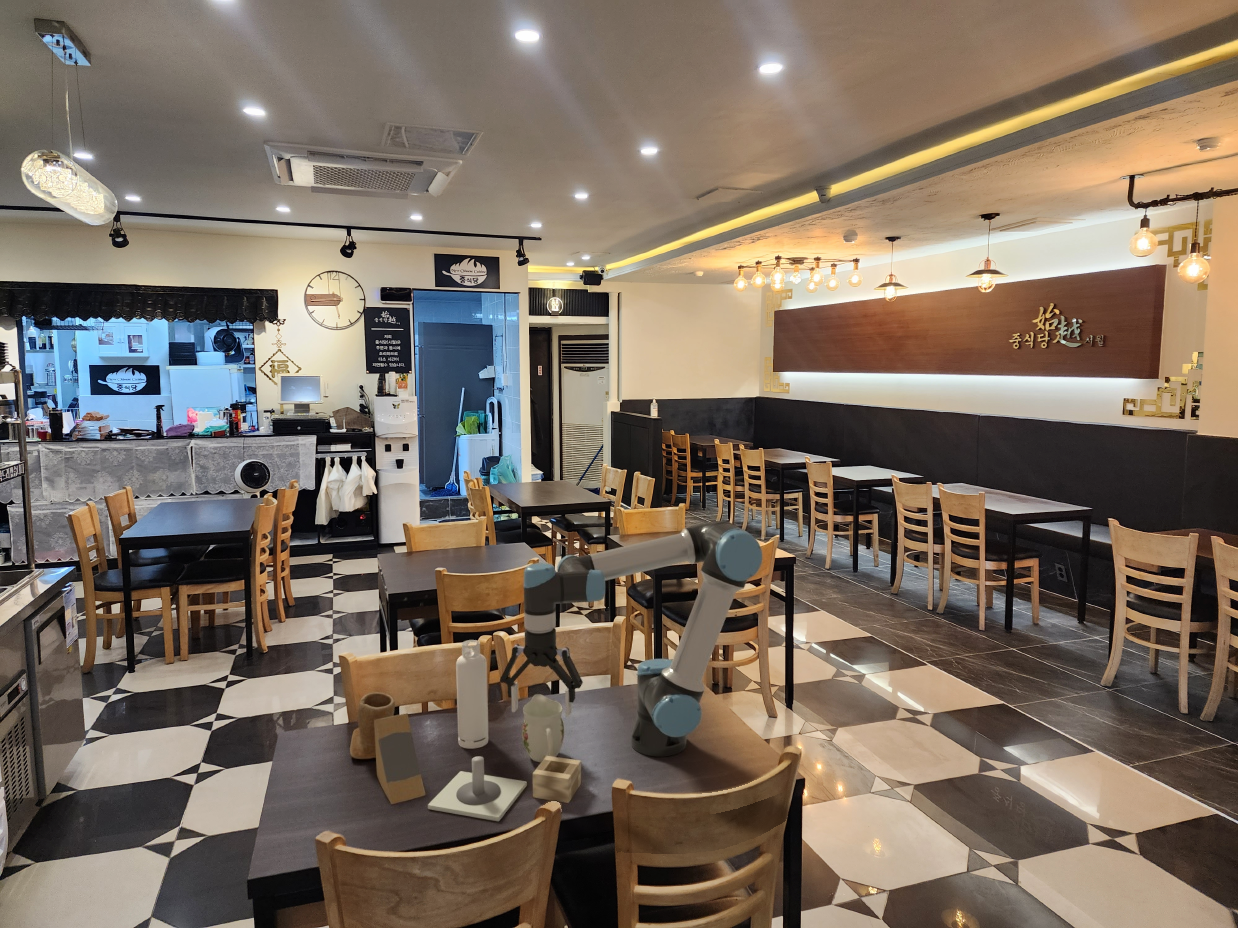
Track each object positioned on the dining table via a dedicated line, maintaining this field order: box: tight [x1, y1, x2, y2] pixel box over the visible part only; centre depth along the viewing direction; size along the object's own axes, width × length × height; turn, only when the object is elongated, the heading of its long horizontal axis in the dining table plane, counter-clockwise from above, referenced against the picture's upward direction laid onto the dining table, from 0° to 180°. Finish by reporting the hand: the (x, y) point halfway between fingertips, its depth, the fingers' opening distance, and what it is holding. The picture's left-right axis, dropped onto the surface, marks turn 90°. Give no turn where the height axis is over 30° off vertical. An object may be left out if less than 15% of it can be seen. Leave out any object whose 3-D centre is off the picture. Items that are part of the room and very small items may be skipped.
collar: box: [532, 756, 582, 804], centre depth 191 cm, size 9×9×6 cm
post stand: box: [427, 756, 528, 822], centre depth 187 cm, size 18×16×10 cm
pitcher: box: [521, 693, 565, 763], centre depth 206 cm, size 11×18×14 cm, turn 16°
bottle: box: [455, 639, 489, 750], centre depth 214 cm, size 8×8×28 cm
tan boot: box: [349, 691, 396, 760], centre depth 211 cm, size 15×12×15 cm
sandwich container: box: [374, 712, 426, 805], centre depth 193 cm, size 9×15×15 cm, turn 30°
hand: (541, 712), depth 193 cm, fingers open, 13 cm apart
